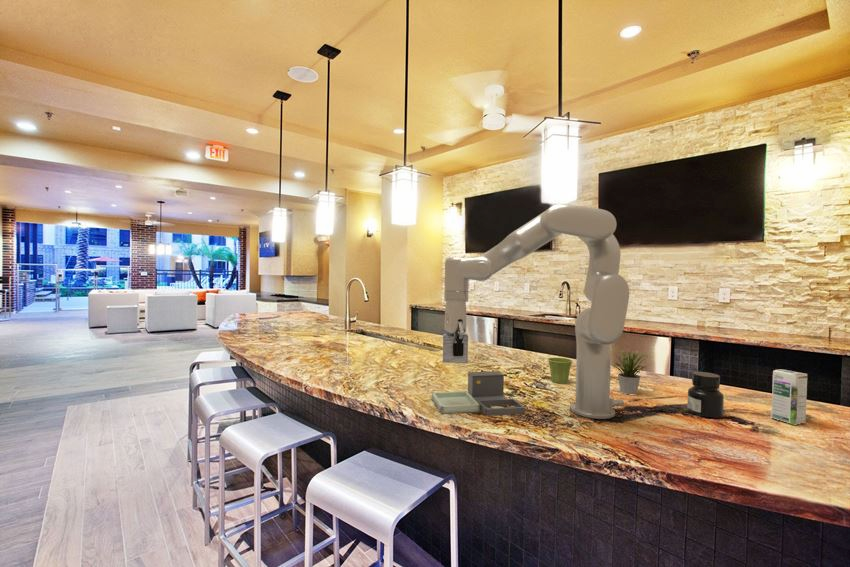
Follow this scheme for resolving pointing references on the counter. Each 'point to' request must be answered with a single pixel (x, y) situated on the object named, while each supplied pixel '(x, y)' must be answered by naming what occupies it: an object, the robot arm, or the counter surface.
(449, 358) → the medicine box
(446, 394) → the tray
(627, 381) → the house plant
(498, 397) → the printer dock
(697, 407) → the ink bottle
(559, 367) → the plant pot
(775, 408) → the syrup box
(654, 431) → the counter surface
